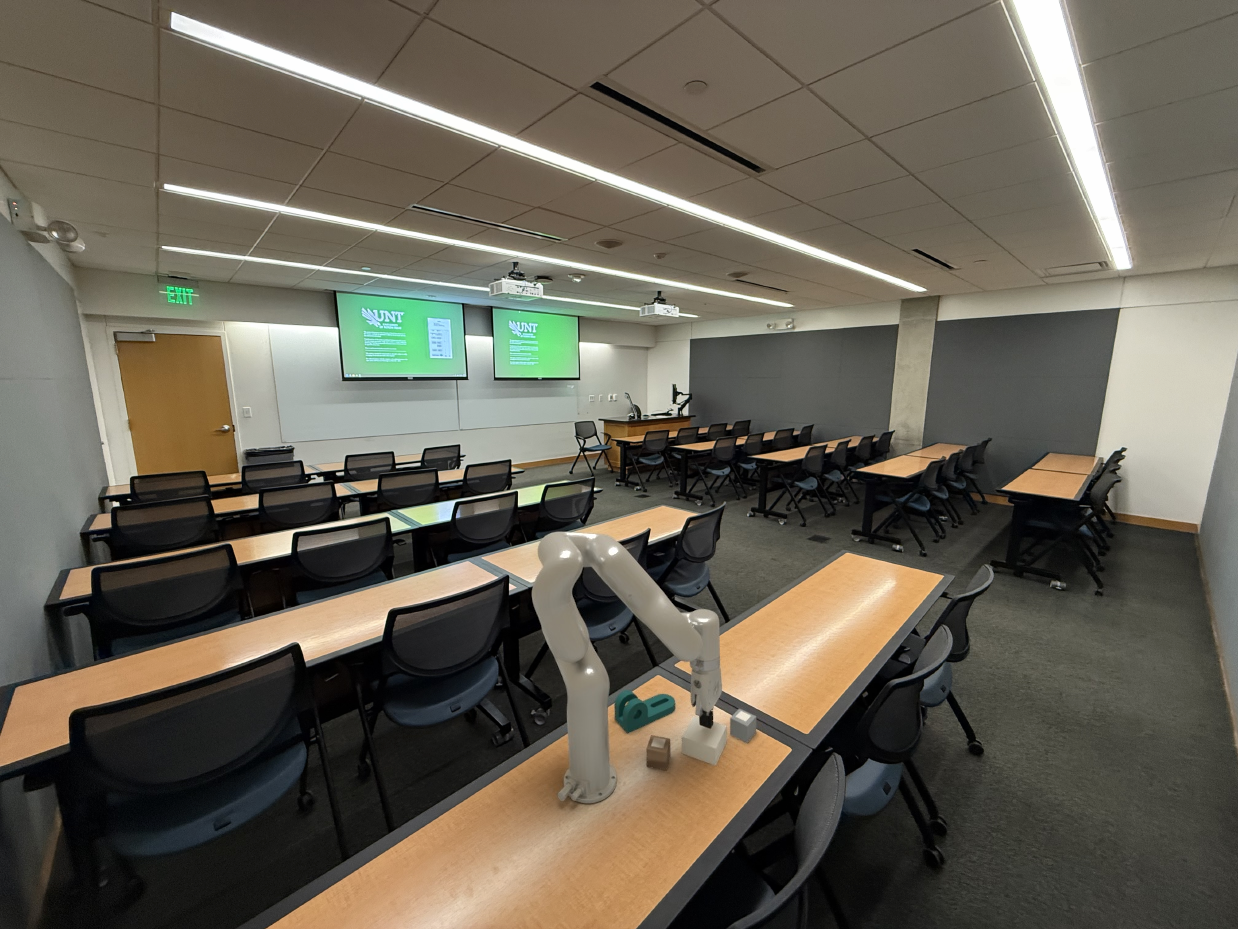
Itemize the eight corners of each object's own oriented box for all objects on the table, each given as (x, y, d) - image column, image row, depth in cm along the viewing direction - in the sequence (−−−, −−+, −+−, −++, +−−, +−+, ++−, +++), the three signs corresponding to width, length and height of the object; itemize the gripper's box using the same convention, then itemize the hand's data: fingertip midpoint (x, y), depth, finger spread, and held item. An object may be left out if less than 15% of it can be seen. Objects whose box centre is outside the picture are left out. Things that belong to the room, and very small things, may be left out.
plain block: (715, 766, 118) (715, 748, 117) (681, 754, 122) (681, 736, 121) (726, 743, 125) (726, 725, 124) (694, 732, 130) (694, 715, 129)
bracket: (627, 734, 129) (626, 708, 128) (614, 720, 135) (614, 694, 134) (679, 710, 139) (679, 685, 137) (665, 698, 144) (665, 674, 143)
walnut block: (666, 771, 116) (666, 751, 116) (646, 767, 118) (646, 747, 117) (670, 756, 121) (670, 737, 120) (651, 752, 123) (651, 733, 122)
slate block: (747, 743, 125) (747, 725, 124) (730, 734, 128) (730, 716, 127) (756, 733, 128) (756, 715, 127) (739, 725, 132) (739, 707, 131)
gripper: (707, 679, 112) (709, 749, 115) (729, 648, 124) (730, 712, 127) (678, 671, 116) (680, 738, 119) (702, 642, 128) (703, 703, 131)
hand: (706, 725), depth 123 cm, fingers closed
